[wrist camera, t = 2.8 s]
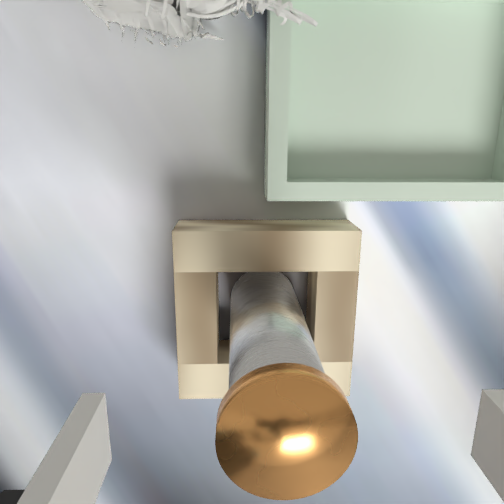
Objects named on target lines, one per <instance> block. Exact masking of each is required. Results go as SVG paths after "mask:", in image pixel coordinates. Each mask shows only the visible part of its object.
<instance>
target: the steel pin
mask: <svg viewBox="0 0 504 504" xmlns="http://www.w3.org/2000/svg"><path fill="white" fill-rule="evenodd" d="M357 443H358V430H357V424H356V421H355V418H354V415H353V413H352V410H351V408H350V406H349V403H348V401H347V399H346V396H345V394H344V392H343V391H342V390H341V388H340V387H339V385H338V384H337V383H336V382H335V381H334V380H333V379H332V378H330V377H329V376H328V375H326V374H325V372H324V369H323V366H322V364H321V361H320V358H319V356H318V353H317V350H316V348H315V345H314V342H313V340H312V337H311V334H310V332H309V329H308V326H307V324H306V321H305V318H304V316H303V313H302V310H301V307H300V305H299V302H298V299H297V297H296V294H295V291H294V289H293V286H292V284H291V283H290V281H289V280H288V279H287V277H285V276H284V275H283V274H282V273H280V272H247V273H245V274H244V275H242V276H241V277H240V278H239V279H238V280H237V282H236V283H235V285H234V287H233V289H232V293H231V310H230V352H229V390H228V391H227V393H226V394H225V396H224V398H223V399H222V401H221V404H220V406H219V409H218V414H217V424H216V440H215V445H216V453H217V457H218V460H219V463H220V465H221V467H222V469H223V470H224V472H225V473H226V475H227V476H228V477H229V478H230V479H231V480H232V481H233V482H234V483H235V484H236V485H237V486H239V487H240V488H242V489H243V490H245V491H247V492H249V493H251V494H253V495H256V496H259V497H263V498H267V499H273V500H293V499H299V498H304V497H307V496H311V495H313V494H316V493H318V492H320V491H322V490H324V489H326V488H327V487H329V486H330V485H331V484H333V483H334V482H335V481H336V480H338V479H339V478H340V477H341V476H342V475H343V473H344V472H345V471H346V470H347V468H348V467H349V465H350V464H351V462H352V460H353V457H354V455H355V452H356V449H357Z"/></svg>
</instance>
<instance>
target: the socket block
mask: <svg viewBox="0 0 504 504" xmlns="http://www.w3.org/2000/svg"><path fill="white" fill-rule="evenodd" d="M361 235H362V231H361V230H360V229H359V228H358V227H356V226H355V225H354V224H353V223H351V222H350V221H349V220H179V221H178V222H177V224H176V226H175V227H174V229H173V230H172V245H173V267H174V290H175V312H176V335H177V357H178V380H179V399H210V398H224V396H225V394H226V393H227V391H228V390H229V352H230V340H219V290H218V272H308V284H307V307H306V324H307V326H308V329H309V332H310V334H311V337H312V340H313V342H314V345H315V348H316V350H317V353H318V356H319V358H320V361H321V364H322V366H323V369H324V372H325V374H326V375H328V376H329V377H330V378H332V379H333V380H334V381H335V382H336V383H337V384H338V385H339V387H340V388H341V390H342V391H343V392H344V394H345V396H350V383H351V369H352V356H353V343H354V329H355V316H356V302H357V289H358V275H359V262H360V249H361Z"/></svg>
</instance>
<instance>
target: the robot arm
mask: <svg viewBox="0 0 504 504" xmlns="http://www.w3.org/2000/svg"><path fill="white" fill-rule="evenodd" d="M471 456H472V457H473V459H474V460H475V462H476V463H477V464H478V466H479V467H480V469H481V470H482V471H483V473H484V474H485V476H486V477H487V479H488V480H489V481H490V483H491V484H492V486H493V487H494V489H495V490H496V491H497V493H498V494H499V496H500V497H501V498H502V500H503V501H504V389H482V393H481V399H480V405H479V411H478V417H477V422H476V428H475V434H474V440H473V446H472V452H471ZM111 460H112V457H111V447H110V437H109V427H108V417H107V407H106V397H105V393H82V395H81V397H80V398H79V400H78V402H77V403H76V405H75V407H74V408H73V410H72V412H71V414H70V415H69V417H68V419H67V420H66V422H65V424H64V425H63V427H62V429H61V430H60V432H59V434H58V435H57V437H56V439H55V440H54V442H53V444H52V445H51V447H50V449H49V450H48V452H47V454H46V455H45V457H44V459H43V461H42V462H41V464H40V466H39V467H38V469H37V471H36V472H35V474H34V476H33V477H32V479H31V481H30V482H29V484H28V486H27V487H26V489H25V490H4V491H3V492H2V493H0V504H95V502H96V499H97V496H98V494H99V491H100V489H101V486H102V484H103V481H104V478H105V476H106V473H107V471H108V468H109V466H110V463H111Z"/></svg>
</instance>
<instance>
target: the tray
mask: <svg viewBox="0 0 504 504" xmlns="http://www.w3.org/2000/svg"><path fill="white" fill-rule="evenodd" d="M275 1H278V0H275ZM289 1H290V2H292V4H293V9H294V8H295V11H296V9H297V10H299V11H301V12H303V13H305V15H306V14H307V15H308V16H310V17H311V18H313V19H314V20H315V21H316V22H317V23H318V25H317V26H316V27H315V26H313V25H311V24H309V23H307V22H305V21H303V20H302V23H301V24H300V25H299V24H298V23H295V22H294V21H292V20H289V19H287V21H286V23H285V24H284V25H280V24H281V23H282V22H283V21H284V18H283V17H282V16H277V15H276V12H273V11H271V10H267V28H266V104H265V180H264V195H265V197H266V199H267V201H504V0H282V4H284V3H286V2H289ZM267 2H268V0H267ZM268 7H269V6H268ZM287 7H288V8H290V6H287ZM270 8H272V9H274V7H270ZM288 8H284V9H286V10H289V11H290V9H288ZM276 10H277V9H276ZM282 12H283V11H282ZM293 12H294V10H293ZM297 12H298V11H296V13H297ZM294 13H295V12H294ZM299 13H300V12H299ZM299 13H297V14H299ZM299 15H301V14H299ZM301 16H302V15H301ZM303 17H304V16H303ZM298 25H299V26H298Z"/></svg>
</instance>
